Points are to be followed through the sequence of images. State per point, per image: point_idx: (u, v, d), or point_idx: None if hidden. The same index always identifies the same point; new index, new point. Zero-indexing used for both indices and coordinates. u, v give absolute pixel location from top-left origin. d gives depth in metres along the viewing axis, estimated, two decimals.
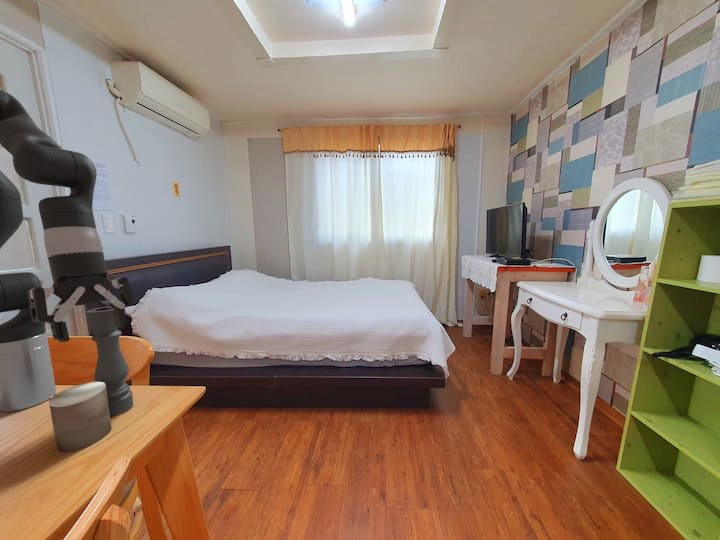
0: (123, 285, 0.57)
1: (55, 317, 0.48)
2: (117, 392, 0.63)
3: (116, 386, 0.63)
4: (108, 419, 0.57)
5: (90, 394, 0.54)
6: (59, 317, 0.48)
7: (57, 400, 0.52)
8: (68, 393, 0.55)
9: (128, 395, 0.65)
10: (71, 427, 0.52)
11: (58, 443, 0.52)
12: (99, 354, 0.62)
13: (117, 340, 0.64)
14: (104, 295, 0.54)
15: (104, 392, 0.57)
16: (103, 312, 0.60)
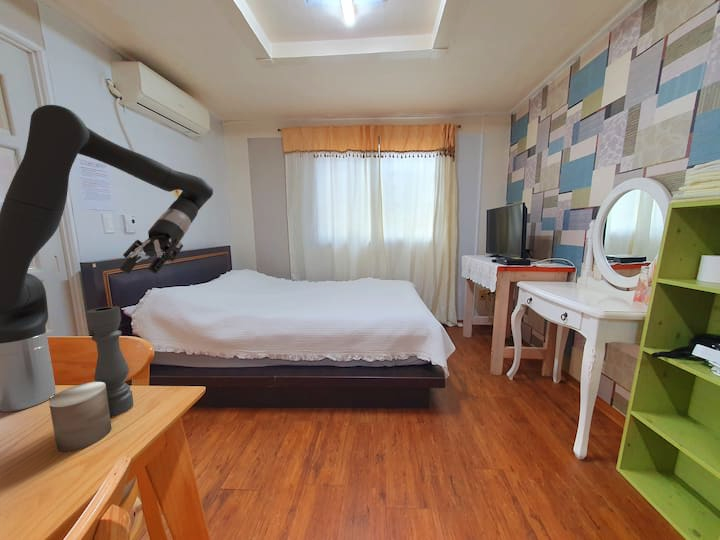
0: None
1: None
2: (117, 392, 0.63)
3: (116, 386, 0.63)
4: (108, 419, 0.57)
5: (90, 394, 0.54)
6: None
7: (57, 400, 0.52)
8: (68, 393, 0.55)
9: (128, 395, 0.65)
10: (71, 427, 0.52)
11: (58, 443, 0.52)
12: (99, 354, 0.62)
13: (117, 340, 0.64)
14: None
15: (104, 392, 0.57)
16: (103, 312, 0.60)
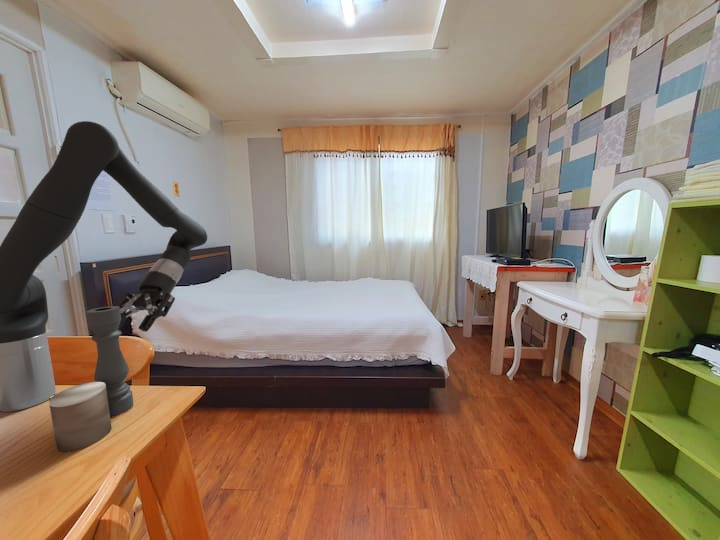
0: None
1: None
2: (117, 392, 0.63)
3: (116, 386, 0.63)
4: (108, 419, 0.57)
5: (90, 394, 0.54)
6: None
7: (57, 400, 0.52)
8: (68, 393, 0.55)
9: (128, 395, 0.65)
10: (71, 427, 0.52)
11: (58, 443, 0.52)
12: (99, 354, 0.62)
13: (117, 340, 0.64)
14: None
15: (104, 392, 0.57)
16: (103, 312, 0.60)
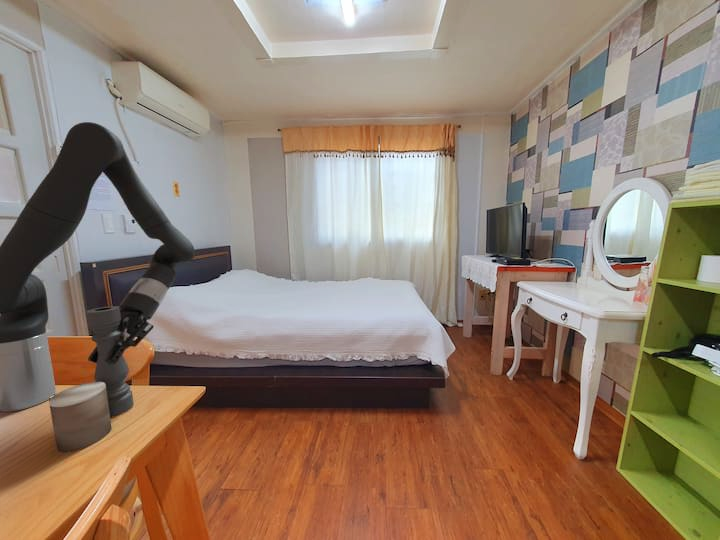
0: None
1: None
2: (117, 392, 0.63)
3: (116, 386, 0.63)
4: (108, 419, 0.57)
5: (90, 394, 0.54)
6: None
7: (57, 400, 0.52)
8: (68, 393, 0.55)
9: (128, 395, 0.65)
10: (71, 427, 0.52)
11: (58, 443, 0.52)
12: (99, 354, 0.62)
13: (117, 340, 0.64)
14: None
15: (104, 392, 0.57)
16: (103, 312, 0.60)
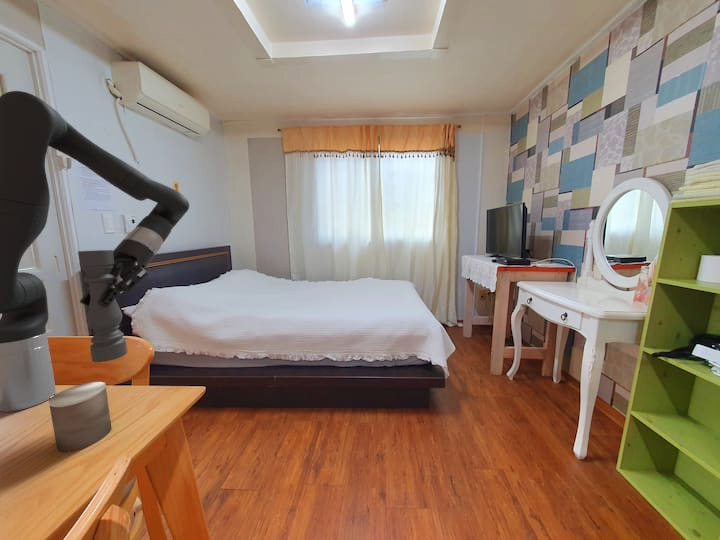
0: None
1: None
2: (109, 336, 0.62)
3: (109, 331, 0.62)
4: (108, 419, 0.57)
5: (90, 394, 0.54)
6: None
7: (57, 400, 0.52)
8: (68, 393, 0.55)
9: (121, 341, 0.64)
10: (71, 427, 0.52)
11: (58, 443, 0.52)
12: (91, 296, 0.60)
13: (110, 284, 0.62)
14: None
15: (104, 392, 0.57)
16: (95, 252, 0.59)
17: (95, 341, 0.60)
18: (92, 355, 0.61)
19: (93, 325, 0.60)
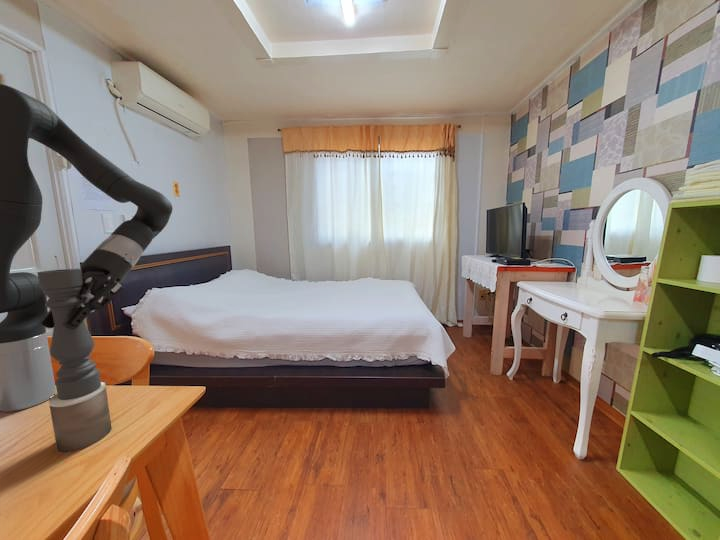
0: None
1: None
2: (78, 369, 0.53)
3: (77, 363, 0.53)
4: (108, 419, 0.57)
5: (90, 394, 0.54)
6: None
7: (57, 400, 0.52)
8: None
9: (93, 374, 0.55)
10: (71, 427, 0.52)
11: (58, 443, 0.52)
12: (55, 324, 0.52)
13: None
14: None
15: (104, 392, 0.57)
16: (57, 272, 0.50)
17: (60, 376, 0.52)
18: (58, 391, 0.52)
19: (58, 358, 0.51)
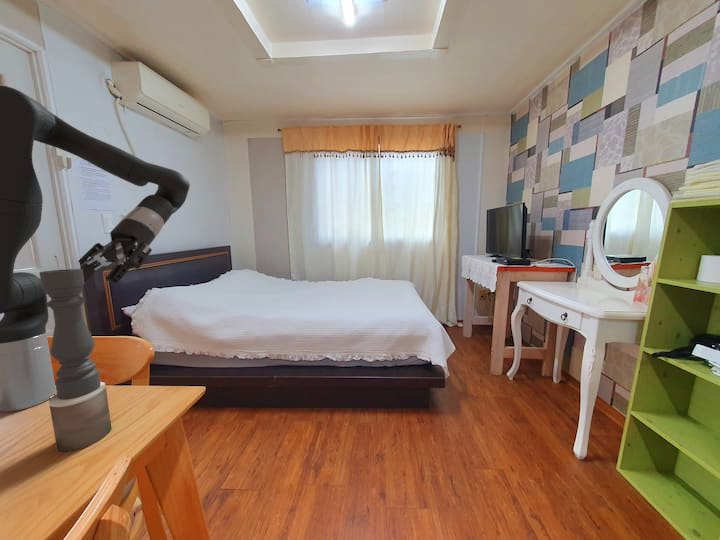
0: None
1: (131, 267, 0.61)
2: (78, 369, 0.53)
3: (77, 363, 0.54)
4: (108, 419, 0.57)
5: (90, 394, 0.54)
6: None
7: (57, 400, 0.52)
8: None
9: (93, 374, 0.55)
10: (71, 427, 0.52)
11: (58, 443, 0.52)
12: (56, 323, 0.52)
13: (79, 308, 0.54)
14: None
15: (104, 392, 0.57)
16: (60, 272, 0.50)
17: (60, 375, 0.52)
18: (57, 391, 0.52)
19: (58, 358, 0.52)
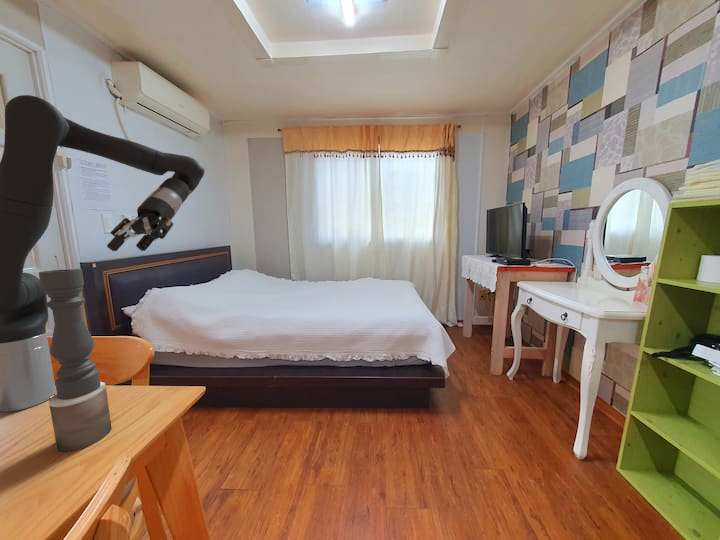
0: (131, 228, 0.74)
1: None
2: (78, 369, 0.53)
3: (77, 363, 0.54)
4: (108, 419, 0.57)
5: (90, 394, 0.54)
6: None
7: (57, 400, 0.52)
8: None
9: (93, 374, 0.55)
10: (71, 427, 0.52)
11: (58, 443, 0.52)
12: (56, 324, 0.52)
13: (78, 308, 0.54)
14: None
15: (104, 392, 0.57)
16: (59, 273, 0.50)
17: (60, 375, 0.52)
18: (57, 391, 0.52)
19: (58, 358, 0.52)
